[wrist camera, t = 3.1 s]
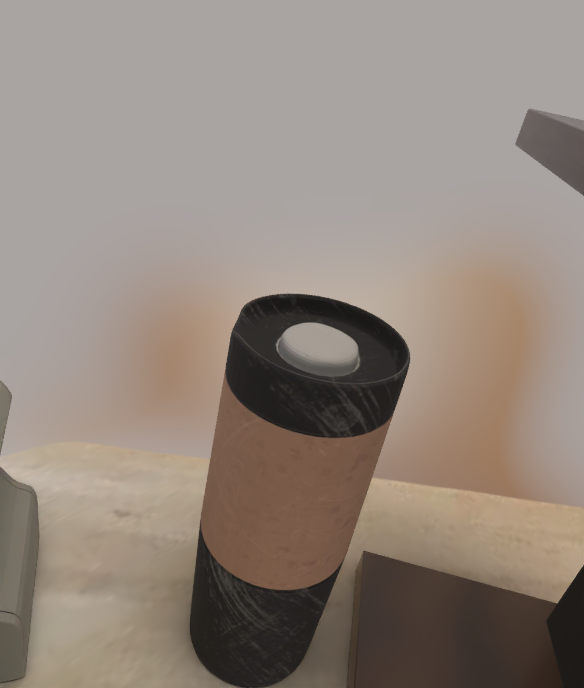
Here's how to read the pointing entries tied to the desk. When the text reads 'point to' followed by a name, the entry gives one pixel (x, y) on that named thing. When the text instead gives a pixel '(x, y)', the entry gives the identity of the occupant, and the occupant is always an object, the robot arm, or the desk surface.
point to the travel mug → (288, 477)
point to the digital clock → (15, 562)
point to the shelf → (452, 591)
